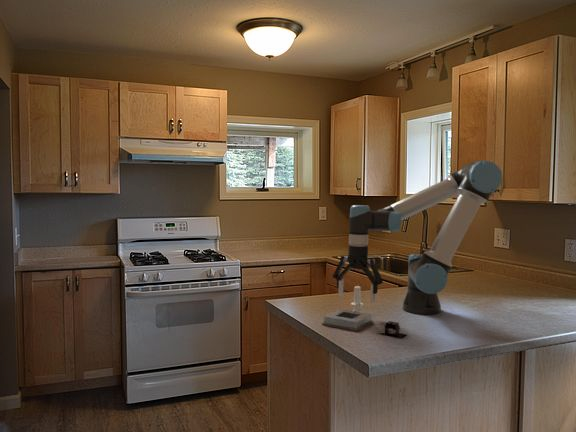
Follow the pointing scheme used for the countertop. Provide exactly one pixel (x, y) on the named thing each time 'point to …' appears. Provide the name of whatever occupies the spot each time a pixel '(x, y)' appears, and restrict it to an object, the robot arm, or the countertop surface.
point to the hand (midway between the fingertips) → (356, 299)
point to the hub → (348, 320)
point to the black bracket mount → (390, 333)
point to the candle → (357, 299)
